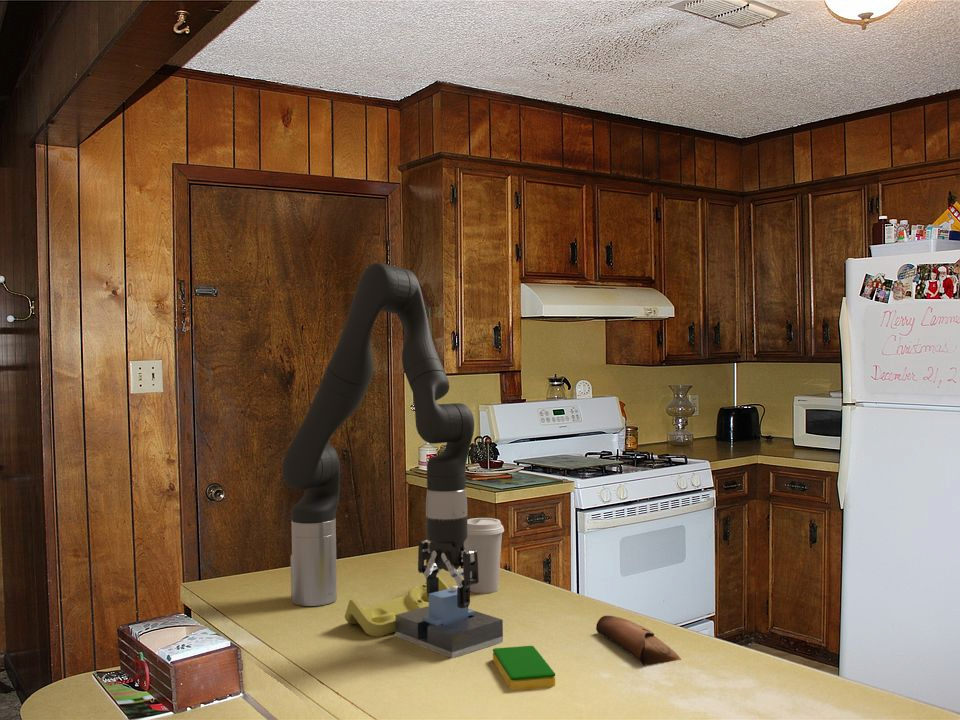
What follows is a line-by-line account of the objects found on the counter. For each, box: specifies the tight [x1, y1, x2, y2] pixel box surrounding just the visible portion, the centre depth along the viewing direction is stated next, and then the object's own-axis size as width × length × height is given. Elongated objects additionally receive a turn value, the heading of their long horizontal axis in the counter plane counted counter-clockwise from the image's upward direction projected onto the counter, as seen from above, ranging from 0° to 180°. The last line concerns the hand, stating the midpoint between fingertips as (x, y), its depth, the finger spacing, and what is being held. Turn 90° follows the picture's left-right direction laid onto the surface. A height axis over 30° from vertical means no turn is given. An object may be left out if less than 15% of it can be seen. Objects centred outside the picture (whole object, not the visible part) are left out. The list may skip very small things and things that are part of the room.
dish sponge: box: [492, 645, 556, 691], centre depth 143 cm, size 7×14×2 cm, turn 11°
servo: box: [422, 585, 475, 626], centre depth 160 cm, size 4×9×8 cm, turn 133°
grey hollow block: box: [395, 606, 504, 659], centre depth 160 cm, size 16×12×4 cm
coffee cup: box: [464, 517, 505, 594], centre depth 193 cm, size 10×10×15 cm
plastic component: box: [344, 574, 451, 637], centre depth 171 cm, size 20×7×10 cm
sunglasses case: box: [595, 615, 682, 666], centre depth 155 cm, size 18×7×7 cm
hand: (447, 602), depth 160 cm, fingers open, 8 cm apart
